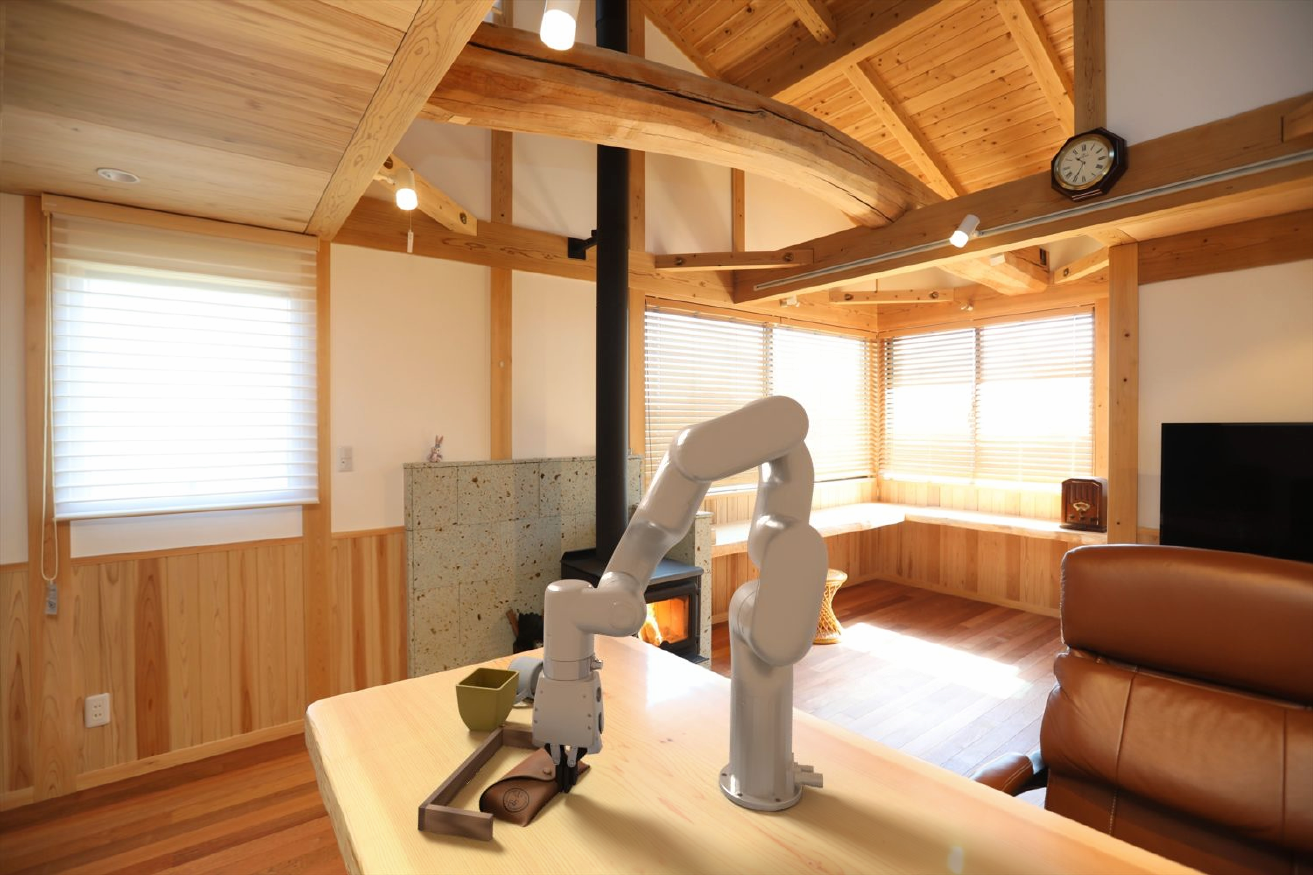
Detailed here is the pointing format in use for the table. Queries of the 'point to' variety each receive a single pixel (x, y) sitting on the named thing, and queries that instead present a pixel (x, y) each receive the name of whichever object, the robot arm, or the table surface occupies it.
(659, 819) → the table surface
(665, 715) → the table surface
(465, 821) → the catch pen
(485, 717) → the flower pot
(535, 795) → the sunglasses case
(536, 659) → the ceramic mug
